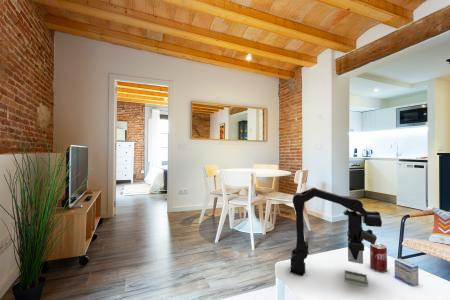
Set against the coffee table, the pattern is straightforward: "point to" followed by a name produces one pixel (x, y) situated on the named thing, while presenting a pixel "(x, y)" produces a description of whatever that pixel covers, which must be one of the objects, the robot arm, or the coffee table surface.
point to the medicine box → (406, 272)
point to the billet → (359, 258)
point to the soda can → (378, 257)
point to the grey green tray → (356, 278)
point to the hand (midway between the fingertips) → (355, 257)
